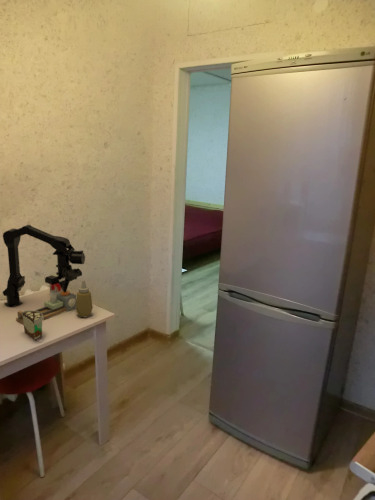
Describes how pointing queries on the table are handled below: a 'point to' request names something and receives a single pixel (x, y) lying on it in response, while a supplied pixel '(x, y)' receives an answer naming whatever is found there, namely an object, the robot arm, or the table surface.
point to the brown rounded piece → (64, 293)
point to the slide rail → (45, 311)
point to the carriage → (53, 301)
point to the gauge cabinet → (67, 300)
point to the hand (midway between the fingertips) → (64, 291)
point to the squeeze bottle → (84, 301)
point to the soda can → (55, 285)
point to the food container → (33, 324)
